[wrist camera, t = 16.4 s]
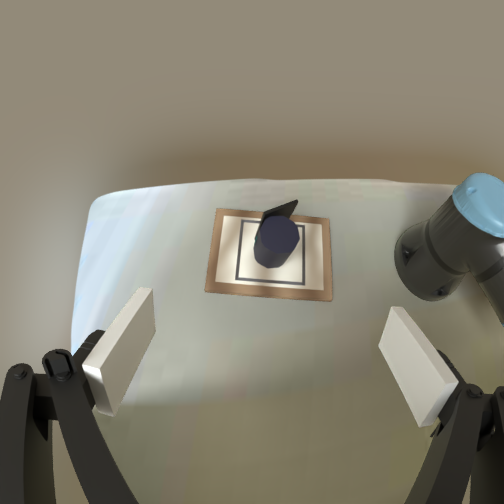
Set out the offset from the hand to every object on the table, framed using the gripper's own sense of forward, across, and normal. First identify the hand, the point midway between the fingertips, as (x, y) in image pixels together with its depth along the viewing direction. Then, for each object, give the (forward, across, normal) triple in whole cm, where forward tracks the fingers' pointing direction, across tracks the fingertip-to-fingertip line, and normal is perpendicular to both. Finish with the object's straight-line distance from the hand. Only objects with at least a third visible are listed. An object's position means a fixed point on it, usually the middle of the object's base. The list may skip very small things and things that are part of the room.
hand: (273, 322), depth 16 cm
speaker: (+33, +3, -8) cm, 34 cm away
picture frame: (+34, +2, -8) cm, 35 cm away
